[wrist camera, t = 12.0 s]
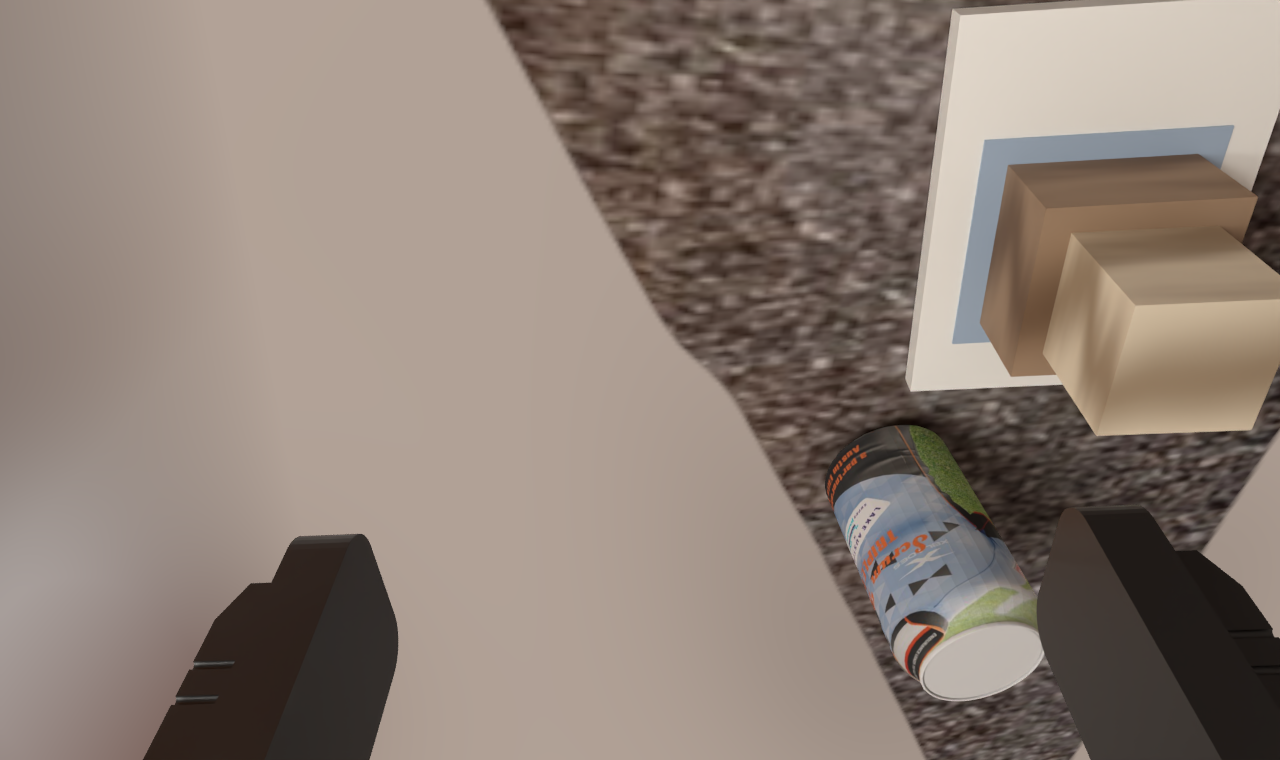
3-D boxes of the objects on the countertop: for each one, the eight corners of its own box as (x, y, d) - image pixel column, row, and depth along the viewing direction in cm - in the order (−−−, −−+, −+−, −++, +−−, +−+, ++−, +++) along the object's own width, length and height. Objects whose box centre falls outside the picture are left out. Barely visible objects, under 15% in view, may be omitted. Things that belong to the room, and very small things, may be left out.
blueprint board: (952, 8, 31) (961, 15, 30) (1303, -15, 31) (1322, -9, 30) (905, 378, 40) (910, 392, 40) (1174, 366, 40) (1186, 380, 39)
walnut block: (1007, 164, 33) (1046, 208, 30) (1198, 153, 33) (1258, 196, 30) (979, 323, 37) (1010, 376, 34) (1149, 314, 37) (1197, 368, 34)
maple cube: (1071, 232, 31) (1135, 305, 26) (1219, 225, 30) (1307, 298, 26) (1042, 353, 33) (1096, 435, 29) (1178, 347, 33) (1251, 429, 29)
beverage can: (842, 399, 41) (900, 599, 31) (991, 423, 42) (1095, 626, 32) (803, 497, 45) (845, 705, 35) (942, 518, 45) (1021, 727, 36)
